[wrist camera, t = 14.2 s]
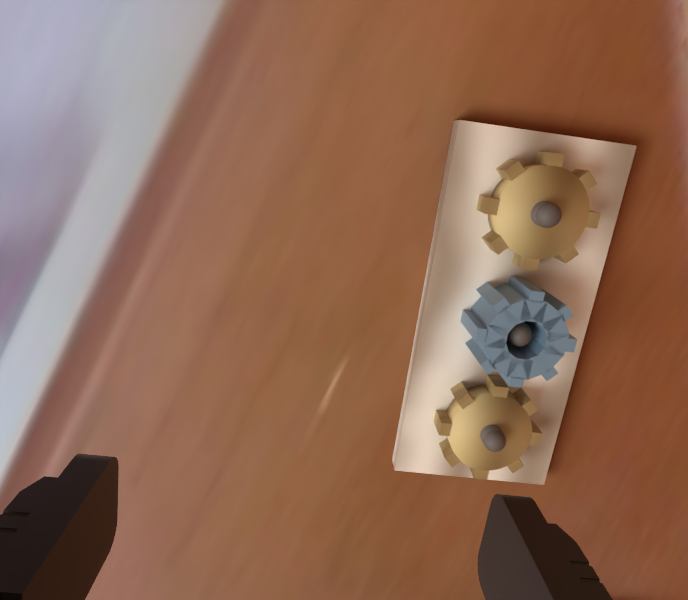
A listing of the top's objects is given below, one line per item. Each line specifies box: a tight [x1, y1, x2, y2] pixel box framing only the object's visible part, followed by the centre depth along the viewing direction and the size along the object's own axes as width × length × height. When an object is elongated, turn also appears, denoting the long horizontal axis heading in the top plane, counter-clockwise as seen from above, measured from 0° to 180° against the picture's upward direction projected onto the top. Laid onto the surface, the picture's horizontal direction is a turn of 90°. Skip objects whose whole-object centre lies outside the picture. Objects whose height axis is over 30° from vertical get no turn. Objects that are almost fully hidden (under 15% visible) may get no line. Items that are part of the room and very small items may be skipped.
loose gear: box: [460, 276, 577, 388], centre depth 37 cm, size 7×7×4 cm
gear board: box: [392, 120, 637, 485], centre depth 38 cm, size 12×26×5 cm, turn 172°
